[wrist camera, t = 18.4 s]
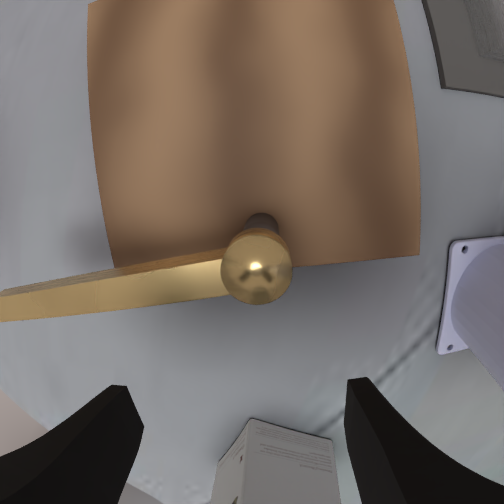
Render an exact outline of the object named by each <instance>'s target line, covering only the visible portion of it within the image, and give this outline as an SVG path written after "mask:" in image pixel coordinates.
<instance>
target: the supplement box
mask: <svg viewBox="0 0 504 504" xmlns="http://www.w3.org/2000/svg"><path fill="white" fill-rule="evenodd" d="M210 504H341V500H340V493H339V485H338V478H337V471H336V464H335V457H334V450H333V444H332V441H331V440H328V439H324V438H320V437H316V436H312V435H308V434H304V433H301V432H297V431H293V430H290V429H286V428H283V427H279V426H276V425H272V424H269V423H266V422H262V421H259V420H255V419H250V420H249V421H248V423H247V425H246V426H245V428H244V429H243V431H242V433H241V434H240V435H239V437H238V438H237V440H236V441H235V443H234V444H233V445H232V447H231V448H230V449H229V450H228V452H227V453H226V454H225V455H224V457H223V458H222V459H221V460H220V461H219V462H218V465H217V470H216V476H215V481H214V486H213V491H212V496H211V502H210Z"/></svg>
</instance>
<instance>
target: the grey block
mask: <svg viewBox="0 0 504 504" xmlns="http://www.w3.org/2000/svg"><path fill="white" fill-rule="evenodd" d="M463 1H464V4H465V7H466V10H467V13H468V17H469V20H470V24H471V27H472V31H473V35H474V39H475V43H476V47H477V51H478V56H481V57H485V58H489V59H493V60H497V61H501V62H504V0H463Z"/></svg>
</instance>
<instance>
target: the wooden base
mask: <svg viewBox="0 0 504 504" xmlns="http://www.w3.org/2000/svg"><path fill="white" fill-rule="evenodd" d="M87 67H88V92H89V107H90V120H91V131H92V141H93V149H94V158H95V165H96V173H97V179H98V186H99V192H100V198H101V204H102V210H103V215H104V221H105V226H106V231H107V236H108V241H109V245H110V250H111V254H112V259H113V263H114V267H115V268H119V267H124V266H130V265H135V264H140V263H146V262H151V261H156V260H162V259H167V258H173V257H178V256H184V255H189V254H195V253H200V252H206V251H211V250H217V249H222V248H227V247H228V245H229V243H230V242H231V240H232V239H233V238H234V237H235V236H236V235H237V234H239V233H240V232H242V231H244V230H247V229H251V228H264V229H268V230H271V231H273V232H275V233H276V234H278V235H279V236H280V237H281V238H282V239H283V240H284V241H285V243H286V244H287V246H288V249H289V252H290V257H291V263H292V267H301V266H312V265H323V264H334V263H344V262H355V261H365V260H375V259H385V258H395V257H404V256H414V255H419V253H420V217H421V203H420V168H419V151H418V138H417V127H416V117H415V108H414V101H413V93H412V86H411V80H410V74H409V68H408V62H407V57H406V52H405V47H404V42H403V37H402V33H401V28H400V24H399V20H398V16H397V12H396V8H395V4H394V1H393V0H97V1H95V2H92V3H90V4H88V24H87Z"/></svg>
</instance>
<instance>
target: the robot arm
mask: <svg viewBox="0 0 504 504" xmlns="http://www.w3.org/2000/svg"><path fill="white" fill-rule="evenodd" d="M463 246H465V250H464V251H463V252H462V248H463ZM449 345H450V346H449ZM448 346H449V347H448ZM447 347H448V348H447ZM468 348H470V350H471V351H472V352H473V353H474V354H475V356H476V357H477V358H478V359H479V361H480V362H481V363H482V364H483V365H484V367H485V368H486V369H487V370H488V372H489V373H490V374H491V375H492V377H493V378H494V379H495V380H496V382H497V383H498V384H499V386H500V387H501V388H502V390H503V391H504V236H498V237H488V238H478V239H468V240H458V241H454V242H453V243H452V244H451V246H450V249H449V262H448V273H447V282H446V291H445V298H444V305H443V312H442V319H441V325H440V330H439V336H438V341H437V346H436V350H437V352H438V353H439V354H440V355H443V354H447V353H452V352H456V351H460V350H464V349H468ZM344 428H345V435H346V442H347V448H348V453H349V456H350V460H351V464H352V468H353V471H354V475H355V479H356V482H357V486H358V490H359V494H360V498H361V501H362V504H504V486H503V485H501V484H498V483H496V482H494V481H491V480H489V479H487V478H485V477H483V476H481V475H479V474H477V473H475V472H474V471H472V470H470V469H468V468H466V467H465V466H463V465H461V464H460V463H458V462H457V461H455V460H454V459H452V458H450V457H449V456H448V455H446V454H445V453H443V452H442V451H441V450H439V449H438V448H437V447H435V446H434V445H433V444H432V443H430V442H429V441H428V440H427V439H426V438H425V437H423V436H422V435H421V434H420V433H419V432H418V431H417V430H416V429H415V428H413V427H412V426H411V425H410V424H409V423H408V422H407V421H406V420H405V419H404V418H403V417H402V416H401V415H400V414H399V413H398V412H397V410H396V409H395V408H394V407H393V406H392V405H391V404H390V403H389V402H388V401H387V399H386V398H385V397H384V396H383V395H382V394H381V393H380V391H379V390H378V389H377V388H376V387H375V385H374V384H373V383H372V382H371V380H370V379H369V378H367V377H363V378H356V379H349V380H348V381H347V394H346V405H345V416H344ZM143 429H144V425H143V423H142V421H141V418H140V416H139V414H138V412H137V409H136V407H135V405H134V403H133V400H132V398H131V395H130V393H129V391H128V388H127V386H120V385H111V386H109V387H108V388H106V389H105V390H104V391H102V392H101V393H100V394H98V395H97V396H96V397H95V398H93V399H92V400H91V401H89V402H88V403H87V404H86V405H84V406H83V407H82V408H81V409H79V410H78V411H77V412H75V413H74V414H73V415H71V416H70V417H69V418H68V419H66V420H65V421H63V422H62V423H60V424H59V425H58V426H56V427H55V428H53V429H52V430H50V431H49V432H48V433H46V434H45V435H43V436H41V437H40V438H38V439H36V440H35V441H33V442H31V443H29V444H27V445H25V446H23V447H21V448H19V449H17V450H15V451H13V452H10V453H8V454H6V455H3V456H1V457H0V504H118V501H119V498H120V496H121V493H122V491H123V488H124V485H125V483H126V481H127V478H128V476H129V473H130V471H131V468H132V466H133V463H134V461H135V458H136V456H137V453H138V450H139V446H140V443H141V439H142V434H143Z"/></svg>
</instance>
